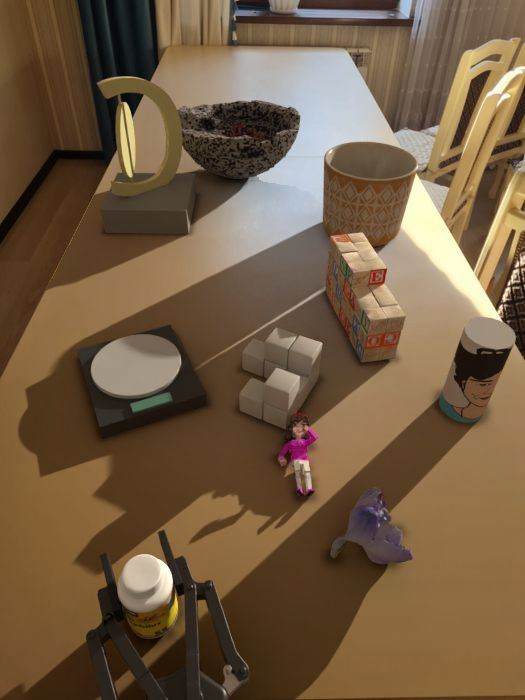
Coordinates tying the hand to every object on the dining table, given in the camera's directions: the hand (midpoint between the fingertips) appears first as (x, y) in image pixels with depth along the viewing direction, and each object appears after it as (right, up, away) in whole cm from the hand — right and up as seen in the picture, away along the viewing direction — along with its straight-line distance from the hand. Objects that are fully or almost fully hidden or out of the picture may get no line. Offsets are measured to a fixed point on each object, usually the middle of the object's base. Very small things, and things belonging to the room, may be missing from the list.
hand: (134, 548), depth 60 cm
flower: (+27, -3, +7) cm, 28 cm away
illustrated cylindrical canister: (+45, +13, +24) cm, 53 cm away
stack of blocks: (+31, +27, +39) cm, 57 cm away
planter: (+36, +49, +63) cm, 88 cm away
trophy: (-12, +54, +68) cm, 88 cm away
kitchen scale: (-5, +17, +27) cm, 32 cm away
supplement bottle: (+2, -8, +1) cm, 8 cm away
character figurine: (+19, +6, +16) cm, 26 cm away
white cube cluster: (+15, +15, +26) cm, 34 cm away
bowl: (+8, +69, +85) cm, 110 cm away
